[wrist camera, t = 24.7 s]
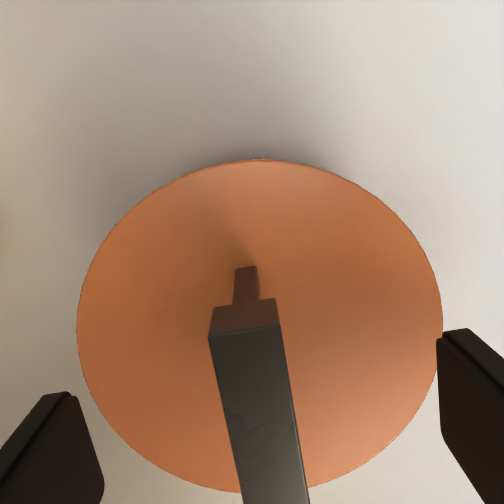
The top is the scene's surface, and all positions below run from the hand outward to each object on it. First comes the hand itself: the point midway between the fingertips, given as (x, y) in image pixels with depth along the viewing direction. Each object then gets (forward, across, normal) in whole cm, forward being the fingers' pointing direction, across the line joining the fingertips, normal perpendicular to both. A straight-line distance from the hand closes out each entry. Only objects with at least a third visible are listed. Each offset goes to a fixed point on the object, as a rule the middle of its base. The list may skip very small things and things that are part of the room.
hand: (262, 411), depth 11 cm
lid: (+4, 0, 0) cm, 4 cm away
